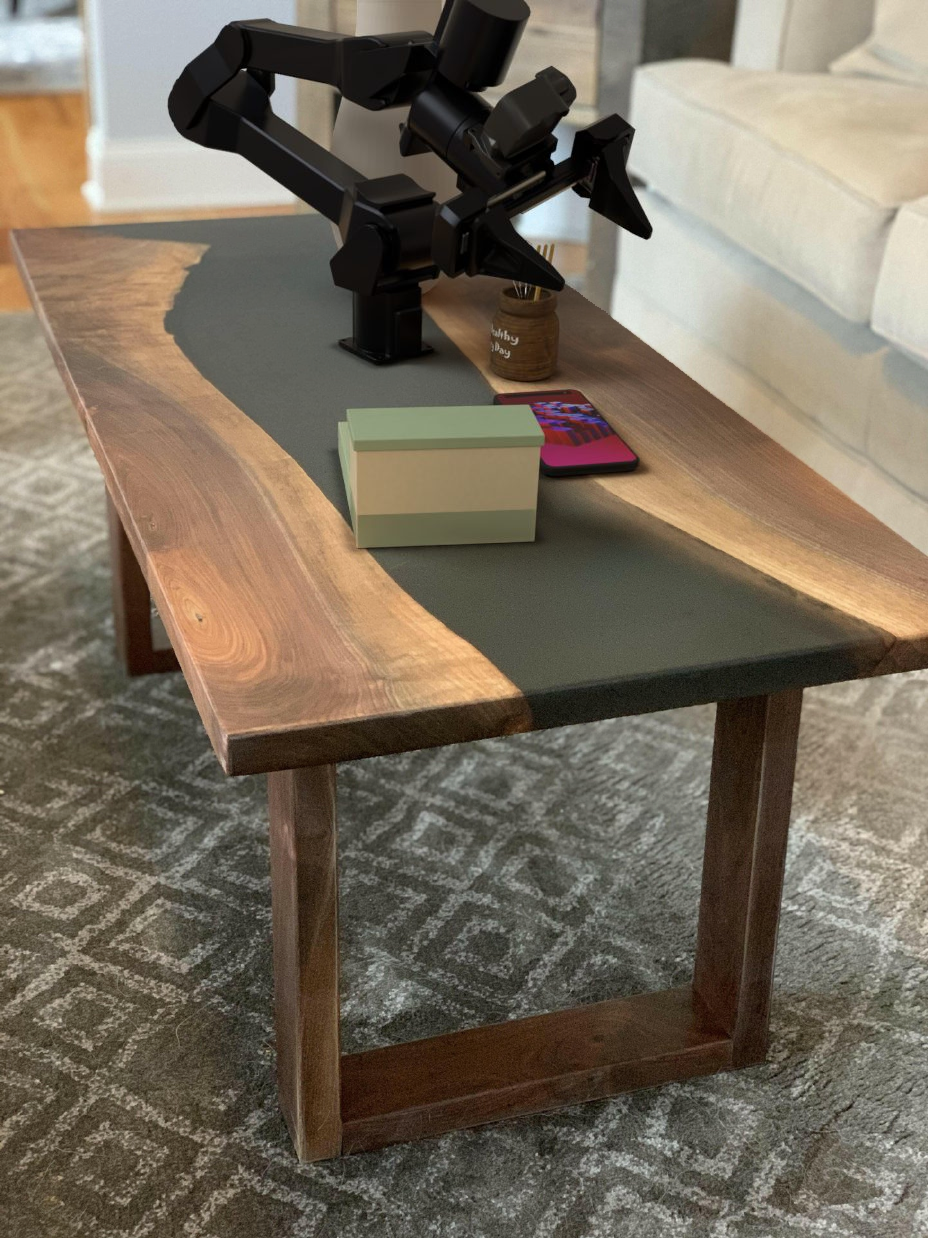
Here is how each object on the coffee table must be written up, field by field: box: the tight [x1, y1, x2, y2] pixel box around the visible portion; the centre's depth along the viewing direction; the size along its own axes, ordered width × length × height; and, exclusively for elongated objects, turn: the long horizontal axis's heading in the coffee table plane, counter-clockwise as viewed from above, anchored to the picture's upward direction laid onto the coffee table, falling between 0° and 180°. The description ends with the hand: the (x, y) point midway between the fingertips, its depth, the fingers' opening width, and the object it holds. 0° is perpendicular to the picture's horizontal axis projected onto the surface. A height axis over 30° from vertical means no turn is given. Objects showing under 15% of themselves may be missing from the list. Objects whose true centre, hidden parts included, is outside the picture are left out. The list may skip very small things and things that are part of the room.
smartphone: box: [492, 388, 640, 477], centre depth 111 cm, size 8×1×15 cm
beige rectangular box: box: [337, 405, 545, 549], centre depth 99 cm, size 16×12×8 cm
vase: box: [329, 0, 462, 295], centre depth 135 cm, size 14×14×30 cm
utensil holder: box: [489, 239, 560, 382], centre depth 120 cm, size 6×6×12 cm
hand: (607, 260), depth 106 cm, fingers open, 9 cm apart
